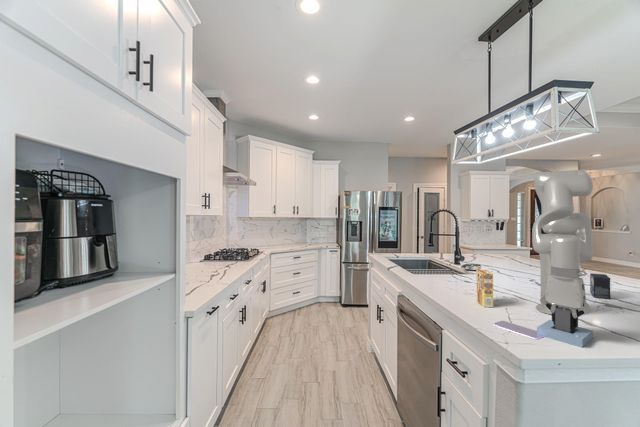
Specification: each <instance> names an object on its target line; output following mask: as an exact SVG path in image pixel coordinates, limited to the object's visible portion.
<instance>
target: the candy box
mask: <svg viewBox="0 0 640 427" xmlns="http://www.w3.org/2000/svg"><path fill="white" fill-rule="evenodd" d="M476 301H477V303H478V304H479V305H481V306H482V307H484V308H494V274H493V272H492V271H489V270H488V269H482V268H481V269H476Z"/></svg>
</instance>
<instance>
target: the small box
mask: <svg viewBox="0 0 640 427" xmlns="http://www.w3.org/2000/svg"><path fill="white" fill-rule="evenodd" d="M589 286H590V289H589V291H590V294H591V296H592V297H593V298H595V299H603V300H611V278H610V277H609V275H607V274H603V273H591V272H590V274H589Z"/></svg>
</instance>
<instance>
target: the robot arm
mask: <svg viewBox="0 0 640 427" xmlns="http://www.w3.org/2000/svg"><path fill="white" fill-rule="evenodd" d="M533 183H534V189H535V193H536V195H537V197H538V199H539V202H540V206H541V214H540V215H539V216H538V217H537V218H536V220H535V221H534V222H533V225H532V232H531V233H532V234H531V235H532V238H531V241H532V249H533V251H535V253H537V254H538V255H539V261H540V262H539V263H540V265H539V266H540V299H539V302H540V304H537V305H536V306H535V309H536V310H537V311H539V312H541V313H543V314H547V315H551V320H552V321H553V322H554V325H555V309H556V308H558V307H564V308H568V309H571V311H572V317H571V329H572V330H574V329H575V328H576V327H579V317H581V316H583V315H586V314H590V313H592V312H593V309H592V307H591V306H590V305H589V303H588V302H587V294H586V288H585V287H586V286H585V283H584V278H582V277H585V276H586V271H583V270H581V268H580V263H581V262H583V263H584V262H586V263H587V262H589V261H591V260H592V259H593V256H594V244H593V243H594V242H593V231H592V230H593V229H592V221H591V219H590V216H589V215H588V214H587V213H584V212H574V211H575V207H574V198H573V197H588V196H590V195H591V194H592V192H593V188H594V187H593V186H594V184H593V179H592V177H591V176H590V174H588V172H587V171H586V170H584V169H571V170H557V171H556V170H555V171H554V170H553V171H545V172H541V173H538V174H537V175H535V176H534V180H533ZM542 231H543V232H544V233H542ZM583 308H584V309H583Z"/></svg>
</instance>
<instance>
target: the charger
mask: <svg viewBox="0 0 640 427" xmlns="http://www.w3.org/2000/svg"><path fill="white" fill-rule="evenodd" d="M571 317H572V311H571V308H569V309H568V308H564V307H558V308H556V309H555V329H556V330H560V331H564V332H568V333H571V334H574V330H572V329H571Z"/></svg>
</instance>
